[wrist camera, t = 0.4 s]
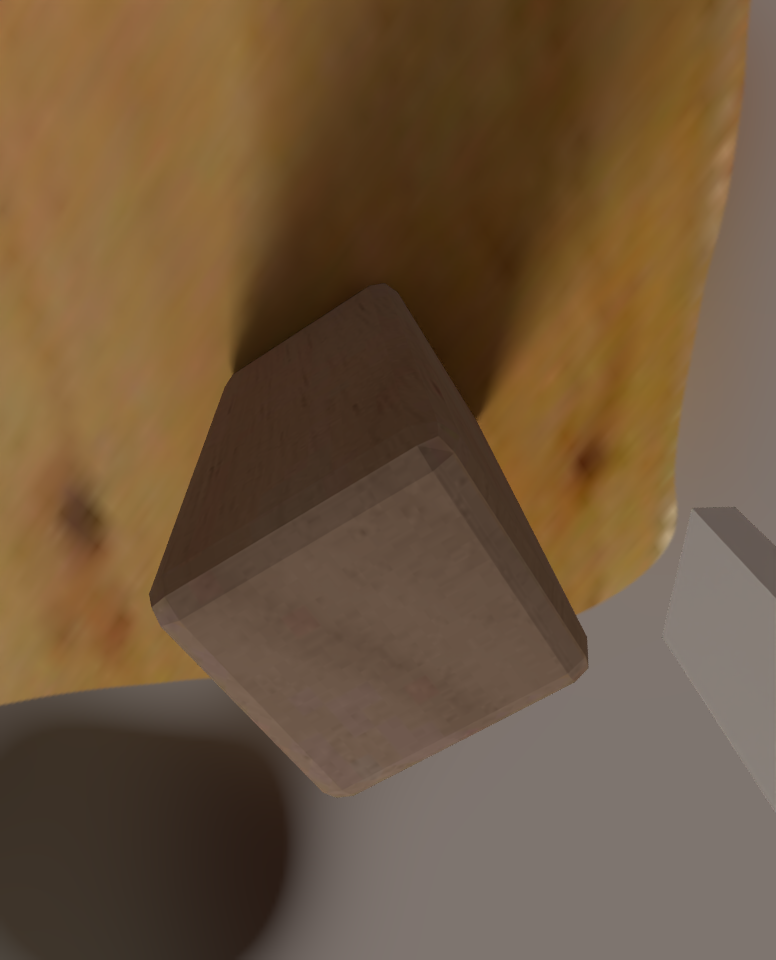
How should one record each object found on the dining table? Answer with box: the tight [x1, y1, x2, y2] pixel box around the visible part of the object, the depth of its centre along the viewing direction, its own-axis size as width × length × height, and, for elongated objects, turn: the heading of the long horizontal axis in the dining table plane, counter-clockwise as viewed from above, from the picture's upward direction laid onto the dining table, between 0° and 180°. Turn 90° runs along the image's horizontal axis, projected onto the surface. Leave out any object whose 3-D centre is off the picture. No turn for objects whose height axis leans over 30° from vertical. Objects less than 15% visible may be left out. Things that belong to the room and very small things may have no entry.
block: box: [149, 283, 588, 798], centre depth 30 cm, size 10×10×20 cm
